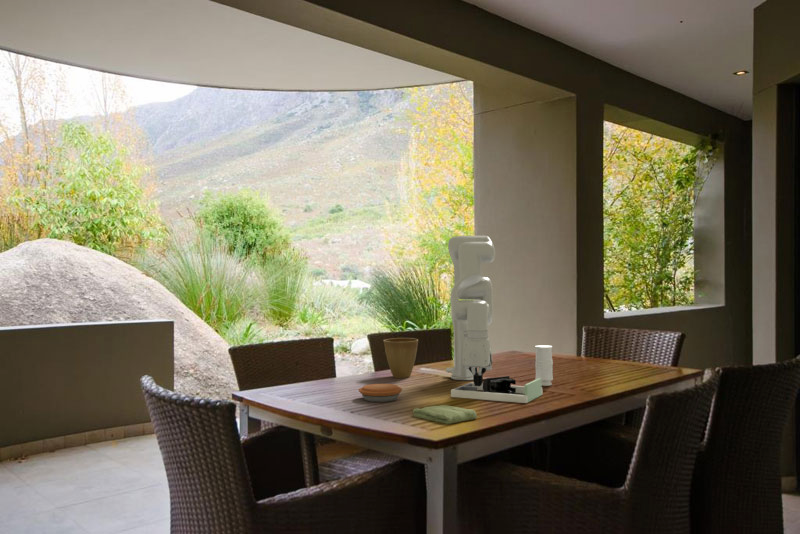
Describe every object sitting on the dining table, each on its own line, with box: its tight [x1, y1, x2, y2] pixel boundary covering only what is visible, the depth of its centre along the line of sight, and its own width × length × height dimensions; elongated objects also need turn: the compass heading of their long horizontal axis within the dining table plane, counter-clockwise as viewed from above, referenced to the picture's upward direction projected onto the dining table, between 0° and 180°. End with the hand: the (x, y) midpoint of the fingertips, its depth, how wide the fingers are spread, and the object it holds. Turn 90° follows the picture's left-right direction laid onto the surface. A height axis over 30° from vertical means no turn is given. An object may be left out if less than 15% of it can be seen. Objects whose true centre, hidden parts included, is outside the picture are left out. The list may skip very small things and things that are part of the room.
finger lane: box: [450, 378, 544, 404], centre depth 242 cm, size 28×18×6 cm, turn 61°
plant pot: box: [383, 337, 419, 379], centre depth 290 cm, size 15×15×16 cm
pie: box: [358, 383, 403, 403], centre depth 239 cm, size 15×16×5 cm
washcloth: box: [412, 404, 478, 425], centre depth 207 cm, size 13×18×3 cm
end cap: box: [482, 375, 517, 394], centre depth 242 cm, size 10×7×7 cm
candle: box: [534, 344, 554, 387], centre depth 265 cm, size 7×7×15 cm
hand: (478, 385), depth 246 cm, fingers closed
